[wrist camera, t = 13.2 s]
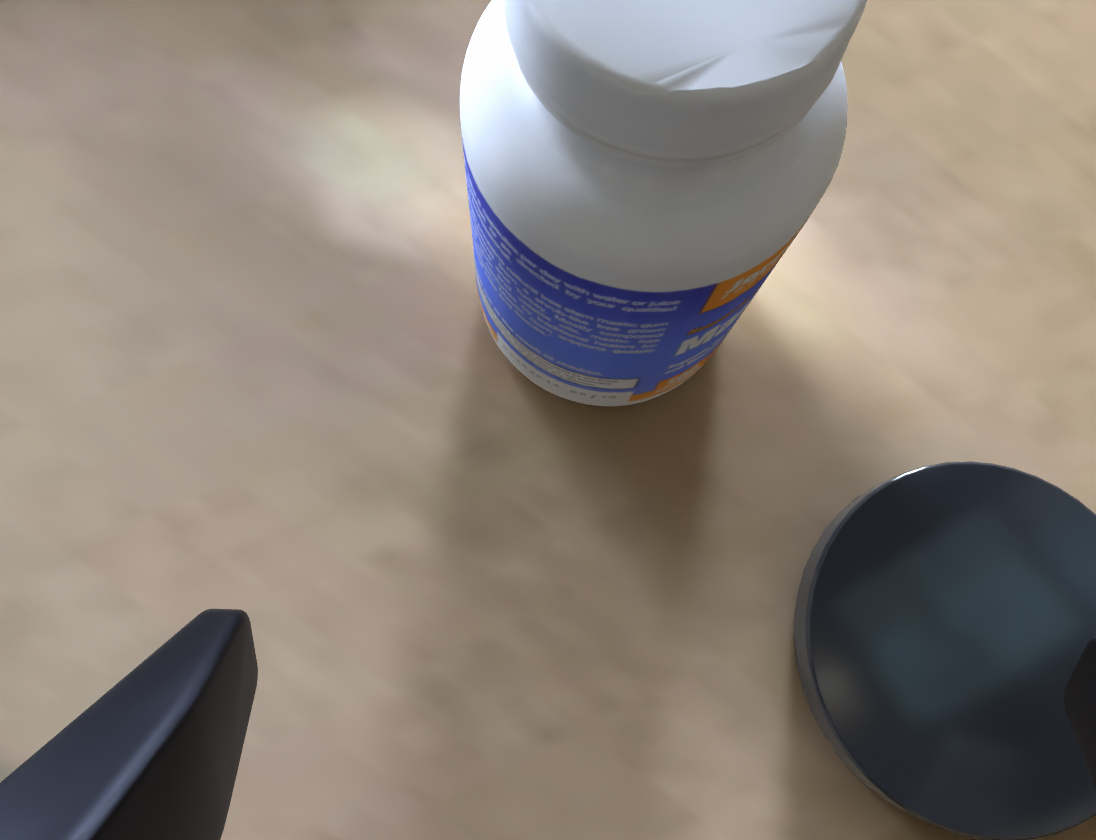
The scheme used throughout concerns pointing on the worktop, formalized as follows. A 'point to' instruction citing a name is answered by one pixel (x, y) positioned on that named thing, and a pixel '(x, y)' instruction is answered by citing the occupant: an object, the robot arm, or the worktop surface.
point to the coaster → (955, 646)
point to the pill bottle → (642, 175)
